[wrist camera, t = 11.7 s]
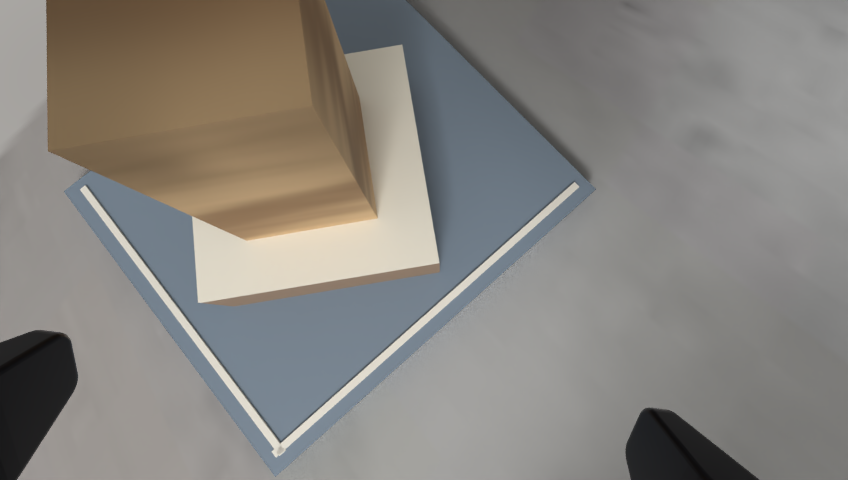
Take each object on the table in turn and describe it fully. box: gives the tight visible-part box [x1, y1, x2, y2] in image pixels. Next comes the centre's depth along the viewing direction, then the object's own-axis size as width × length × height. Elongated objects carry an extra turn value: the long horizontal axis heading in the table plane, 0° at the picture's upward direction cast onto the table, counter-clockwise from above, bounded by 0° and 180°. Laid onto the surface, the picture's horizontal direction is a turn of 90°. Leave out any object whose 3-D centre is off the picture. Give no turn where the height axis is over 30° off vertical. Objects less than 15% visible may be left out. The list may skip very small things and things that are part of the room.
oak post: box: [46, 0, 378, 241], centre depth 14 cm, size 5×5×9 cm
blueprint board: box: [64, 0, 596, 477], centre depth 20 cm, size 18×16×4 cm
